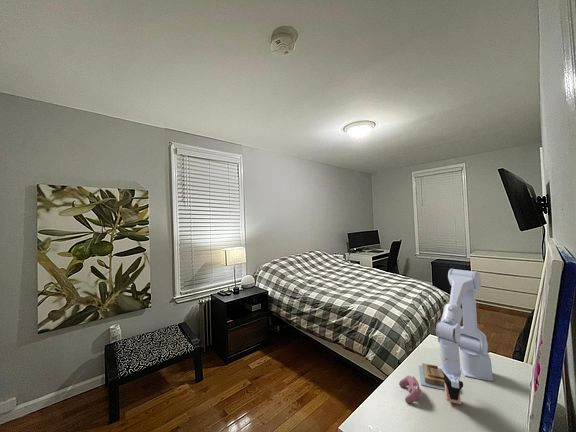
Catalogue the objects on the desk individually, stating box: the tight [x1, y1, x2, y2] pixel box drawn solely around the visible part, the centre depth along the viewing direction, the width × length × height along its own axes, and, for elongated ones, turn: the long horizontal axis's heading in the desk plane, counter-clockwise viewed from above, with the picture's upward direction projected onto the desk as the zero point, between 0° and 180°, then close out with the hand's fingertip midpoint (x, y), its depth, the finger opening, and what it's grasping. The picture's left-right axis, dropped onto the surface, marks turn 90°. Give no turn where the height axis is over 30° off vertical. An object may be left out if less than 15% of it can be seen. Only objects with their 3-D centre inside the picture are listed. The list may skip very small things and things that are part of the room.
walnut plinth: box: [421, 362, 445, 387], centre depth 97 cm, size 10×10×3 cm
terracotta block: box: [444, 382, 462, 405], centre depth 85 cm, size 4×4×6 cm
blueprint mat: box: [418, 364, 462, 395], centre depth 97 cm, size 13×13×1 cm
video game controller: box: [398, 374, 422, 404], centre depth 89 cm, size 10×5×7 cm, turn 169°
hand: (452, 394), depth 85 cm, fingers closed on terracotta block, 4 cm apart
